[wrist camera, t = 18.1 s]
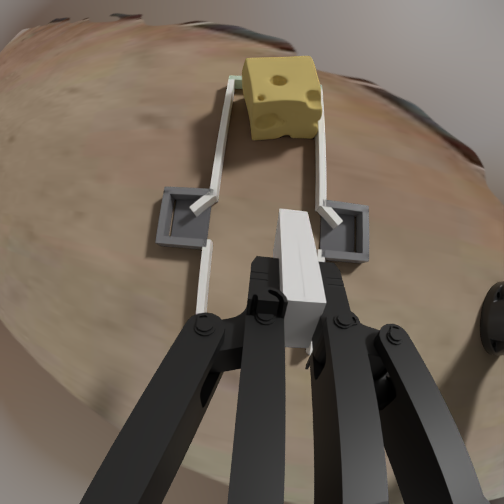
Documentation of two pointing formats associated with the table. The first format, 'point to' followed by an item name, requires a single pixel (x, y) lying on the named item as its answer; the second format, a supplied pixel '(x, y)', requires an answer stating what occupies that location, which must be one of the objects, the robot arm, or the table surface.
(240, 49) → the table surface
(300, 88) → the cheese
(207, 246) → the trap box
